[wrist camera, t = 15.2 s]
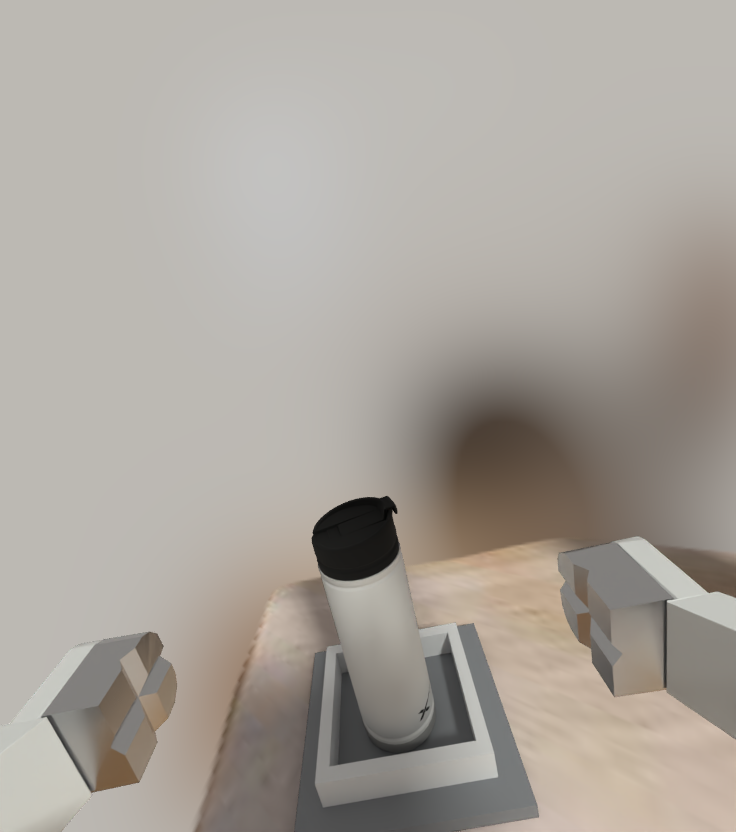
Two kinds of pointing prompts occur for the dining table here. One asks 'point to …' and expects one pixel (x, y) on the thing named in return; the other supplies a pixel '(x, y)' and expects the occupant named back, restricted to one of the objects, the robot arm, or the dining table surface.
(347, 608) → the travel mug
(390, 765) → the grey square tray
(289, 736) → the dining table surface
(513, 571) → the dining table surface
